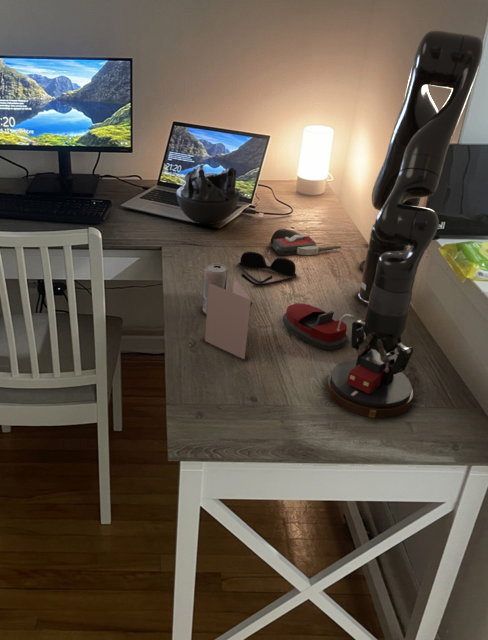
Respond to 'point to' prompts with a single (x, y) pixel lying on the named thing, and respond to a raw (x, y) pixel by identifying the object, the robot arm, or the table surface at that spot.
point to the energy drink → (214, 280)
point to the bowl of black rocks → (208, 195)
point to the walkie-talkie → (298, 245)
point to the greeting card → (228, 318)
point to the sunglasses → (266, 267)
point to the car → (369, 382)
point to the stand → (366, 409)
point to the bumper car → (316, 326)
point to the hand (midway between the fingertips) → (372, 376)
